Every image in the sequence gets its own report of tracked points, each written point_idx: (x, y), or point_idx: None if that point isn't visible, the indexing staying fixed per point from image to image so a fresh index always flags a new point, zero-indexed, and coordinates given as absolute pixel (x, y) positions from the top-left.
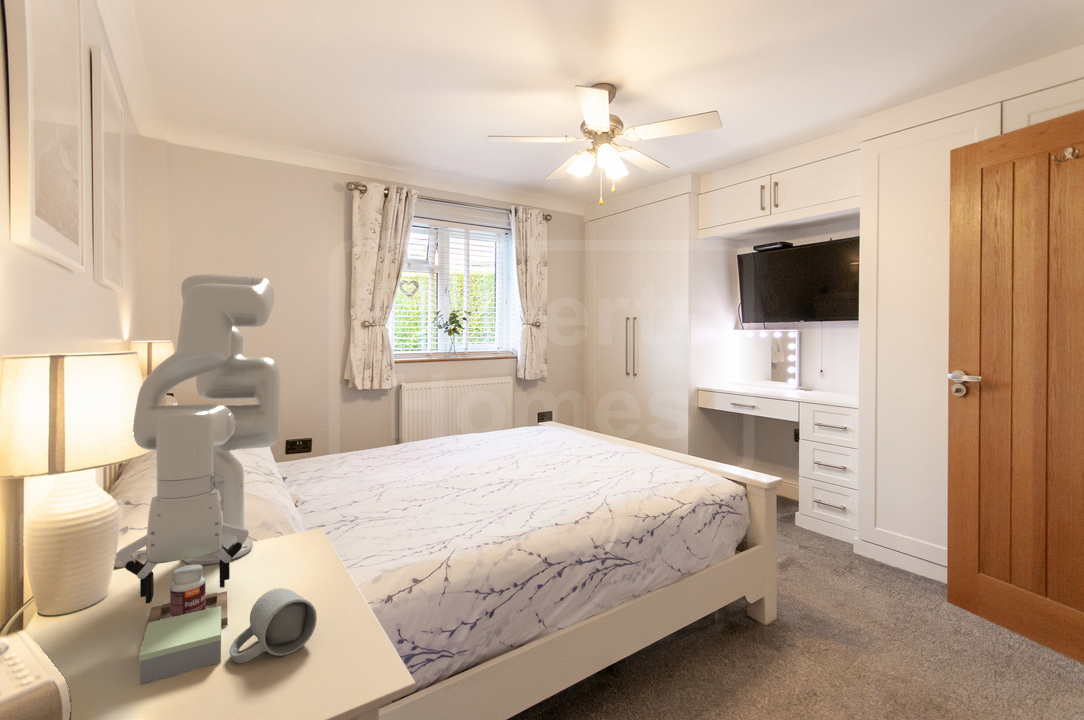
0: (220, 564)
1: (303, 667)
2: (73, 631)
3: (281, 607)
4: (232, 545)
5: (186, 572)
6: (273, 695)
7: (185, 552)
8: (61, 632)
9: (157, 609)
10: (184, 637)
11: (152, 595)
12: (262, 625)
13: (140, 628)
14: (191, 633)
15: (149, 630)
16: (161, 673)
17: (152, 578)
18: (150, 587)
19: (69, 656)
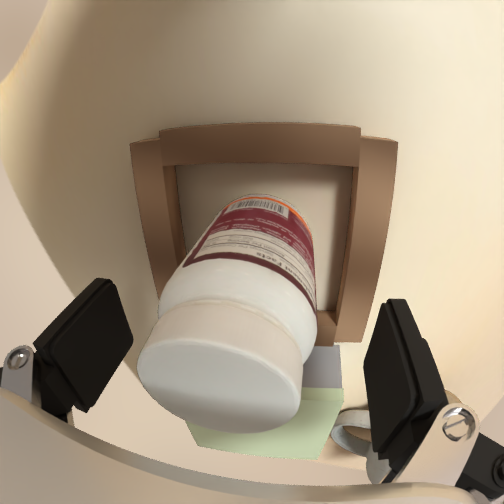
0: (380, 451)
1: None
2: (26, 159)
3: None
4: (476, 487)
5: (215, 419)
6: (352, 459)
7: None
8: (14, 155)
9: (152, 170)
10: (259, 448)
11: (118, 320)
12: (370, 477)
13: (139, 219)
14: (270, 445)
15: None
16: None
17: (80, 367)
18: (106, 381)
19: (63, 268)
